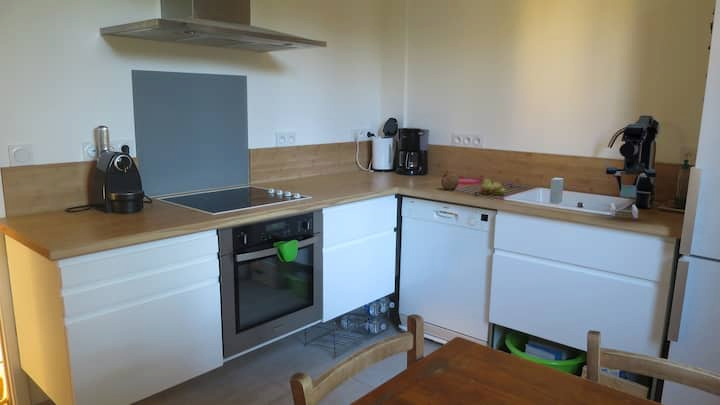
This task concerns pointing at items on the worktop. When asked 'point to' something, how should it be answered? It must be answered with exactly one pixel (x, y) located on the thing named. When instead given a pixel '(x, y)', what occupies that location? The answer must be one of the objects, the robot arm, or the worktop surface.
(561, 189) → the skincare box
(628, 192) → the teal block
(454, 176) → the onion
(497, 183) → the green grapes
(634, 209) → the channel
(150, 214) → the worktop surface
